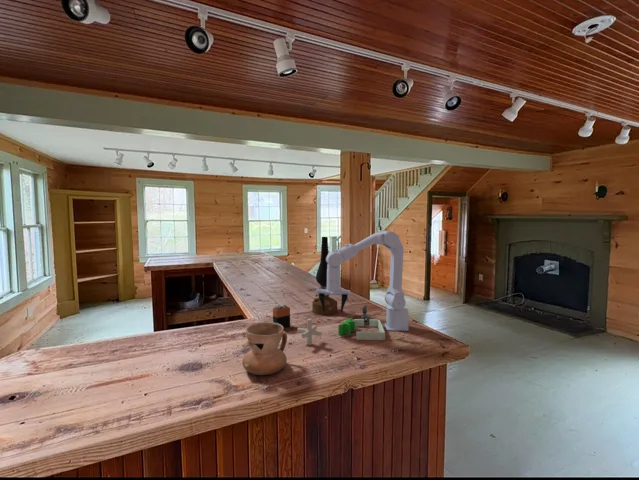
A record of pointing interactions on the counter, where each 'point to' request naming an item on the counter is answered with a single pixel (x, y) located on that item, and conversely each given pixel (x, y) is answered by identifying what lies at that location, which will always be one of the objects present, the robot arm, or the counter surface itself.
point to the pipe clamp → (347, 327)
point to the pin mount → (366, 317)
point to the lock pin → (365, 311)
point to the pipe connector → (309, 331)
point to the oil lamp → (323, 284)
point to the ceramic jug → (265, 348)
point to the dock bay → (370, 335)
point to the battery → (282, 315)
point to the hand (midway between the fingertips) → (332, 311)
